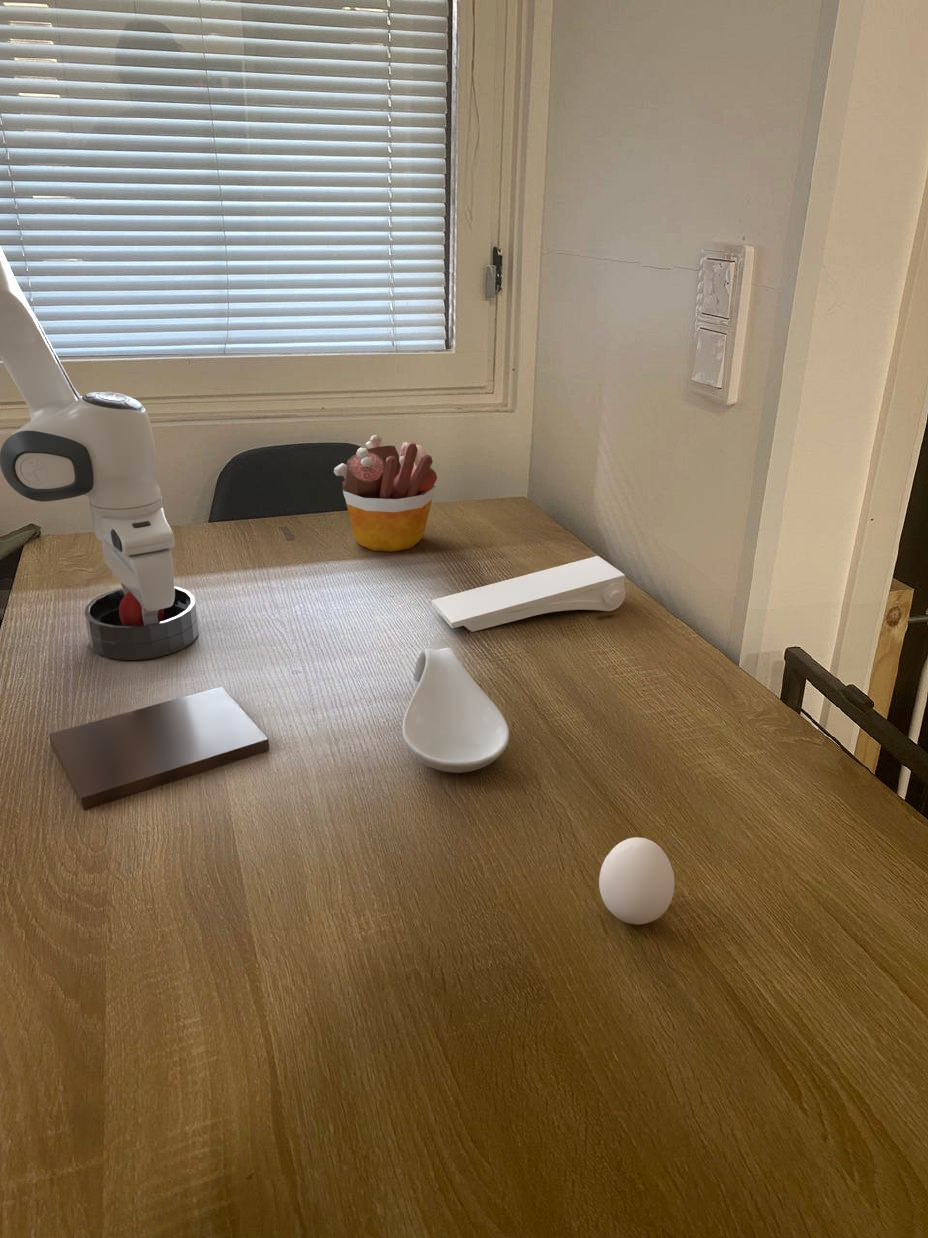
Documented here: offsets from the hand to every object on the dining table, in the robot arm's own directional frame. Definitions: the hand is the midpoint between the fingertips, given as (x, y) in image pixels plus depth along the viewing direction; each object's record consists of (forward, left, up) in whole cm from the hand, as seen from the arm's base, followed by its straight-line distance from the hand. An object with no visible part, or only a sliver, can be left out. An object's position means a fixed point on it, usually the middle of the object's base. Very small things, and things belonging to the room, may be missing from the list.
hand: (142, 616), depth 124 cm
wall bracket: (+51, -21, -4) cm, 55 cm away
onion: (0, 0, -3) cm, 3 cm away
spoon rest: (+22, -42, -4) cm, 48 cm away
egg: (+19, -76, -4) cm, 78 cm away
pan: (0, 0, -3) cm, 3 cm away
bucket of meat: (+48, +15, -4) cm, 50 cm away
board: (-7, -28, -3) cm, 29 cm away
